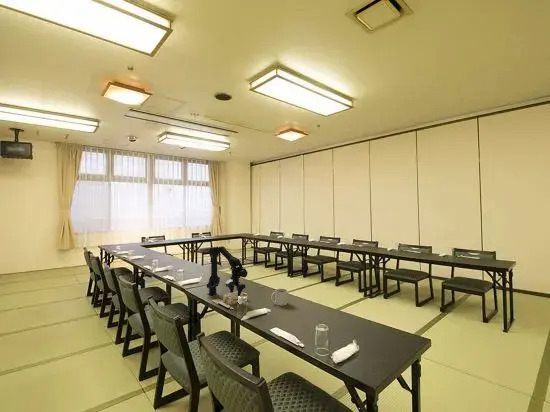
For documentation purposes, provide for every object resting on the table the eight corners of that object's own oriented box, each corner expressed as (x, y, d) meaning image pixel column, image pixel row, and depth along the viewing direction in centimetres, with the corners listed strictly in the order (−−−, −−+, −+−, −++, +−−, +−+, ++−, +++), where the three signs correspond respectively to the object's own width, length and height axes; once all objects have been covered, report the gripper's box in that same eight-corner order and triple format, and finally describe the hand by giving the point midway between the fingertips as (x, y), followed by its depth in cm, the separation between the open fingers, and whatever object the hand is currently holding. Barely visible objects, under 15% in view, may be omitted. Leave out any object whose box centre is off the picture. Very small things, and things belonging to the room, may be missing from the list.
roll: (232, 302, 207) (232, 294, 207) (227, 300, 212) (227, 292, 212) (242, 299, 215) (242, 291, 215) (238, 297, 219) (238, 289, 219)
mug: (288, 302, 209) (288, 289, 209) (284, 306, 200) (284, 293, 200) (276, 300, 213) (276, 287, 214) (270, 304, 205) (270, 291, 205)
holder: (222, 301, 211) (222, 295, 211) (239, 296, 223) (239, 290, 223) (231, 305, 203) (231, 298, 203) (247, 299, 215) (247, 293, 215)
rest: (223, 296, 223) (223, 294, 224) (236, 292, 233) (236, 291, 233) (229, 298, 217) (229, 297, 217) (242, 295, 226) (242, 293, 226)
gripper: (219, 275, 214) (219, 295, 214) (234, 279, 201) (234, 301, 201) (231, 272, 222) (231, 292, 222) (246, 277, 209) (245, 297, 209)
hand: (235, 295), depth 213 cm, fingers open, 8 cm apart
